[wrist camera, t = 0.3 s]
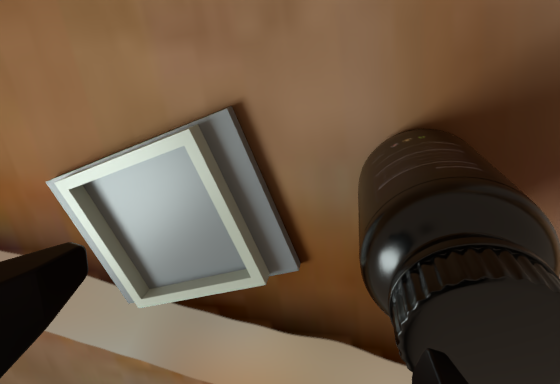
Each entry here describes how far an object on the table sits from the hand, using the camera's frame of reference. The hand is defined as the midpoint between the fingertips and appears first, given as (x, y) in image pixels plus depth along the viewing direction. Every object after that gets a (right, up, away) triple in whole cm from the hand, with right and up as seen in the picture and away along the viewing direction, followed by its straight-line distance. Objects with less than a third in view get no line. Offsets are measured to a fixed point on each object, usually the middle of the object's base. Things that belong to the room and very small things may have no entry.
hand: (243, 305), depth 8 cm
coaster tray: (-7, +1, +16) cm, 18 cm away
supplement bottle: (+9, +4, +11) cm, 15 cm away
